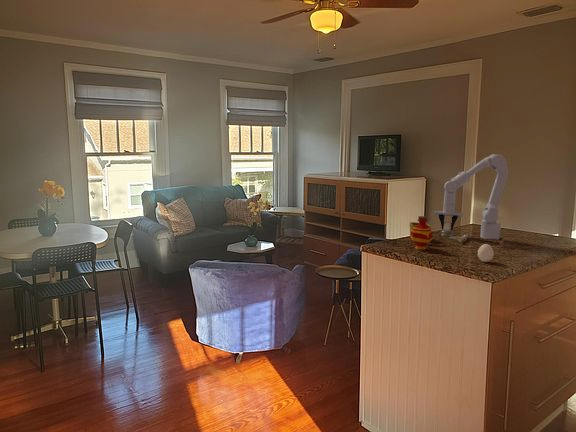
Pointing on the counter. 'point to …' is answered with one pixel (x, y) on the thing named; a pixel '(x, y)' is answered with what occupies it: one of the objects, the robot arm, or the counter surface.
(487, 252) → the egg
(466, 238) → the board
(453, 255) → the counter surface
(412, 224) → the flower pot
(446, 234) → the pad
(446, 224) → the beige mushroom
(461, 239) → the rod with orange cap
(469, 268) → the counter surface
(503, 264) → the counter surface
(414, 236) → the red and yellow vase
